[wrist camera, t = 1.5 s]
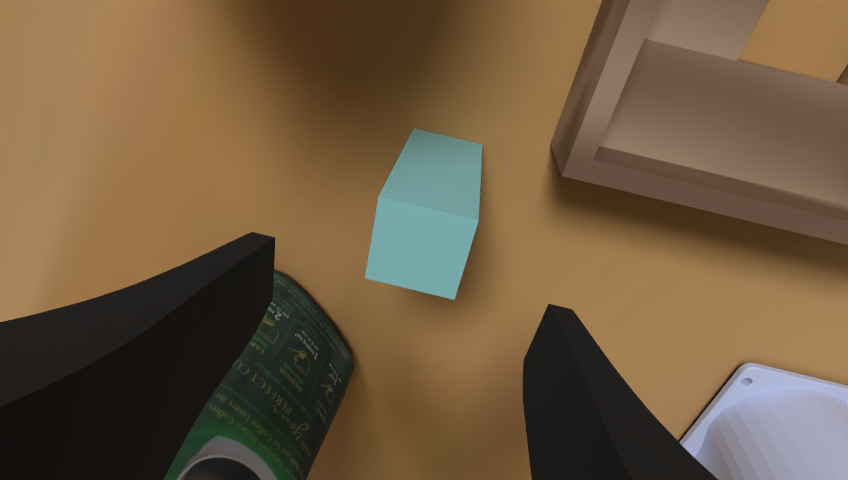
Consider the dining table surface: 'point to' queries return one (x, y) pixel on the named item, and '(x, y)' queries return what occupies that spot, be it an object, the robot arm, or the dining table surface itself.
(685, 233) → the dining table surface
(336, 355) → the coffee jar
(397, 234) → the peg
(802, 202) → the socket box
